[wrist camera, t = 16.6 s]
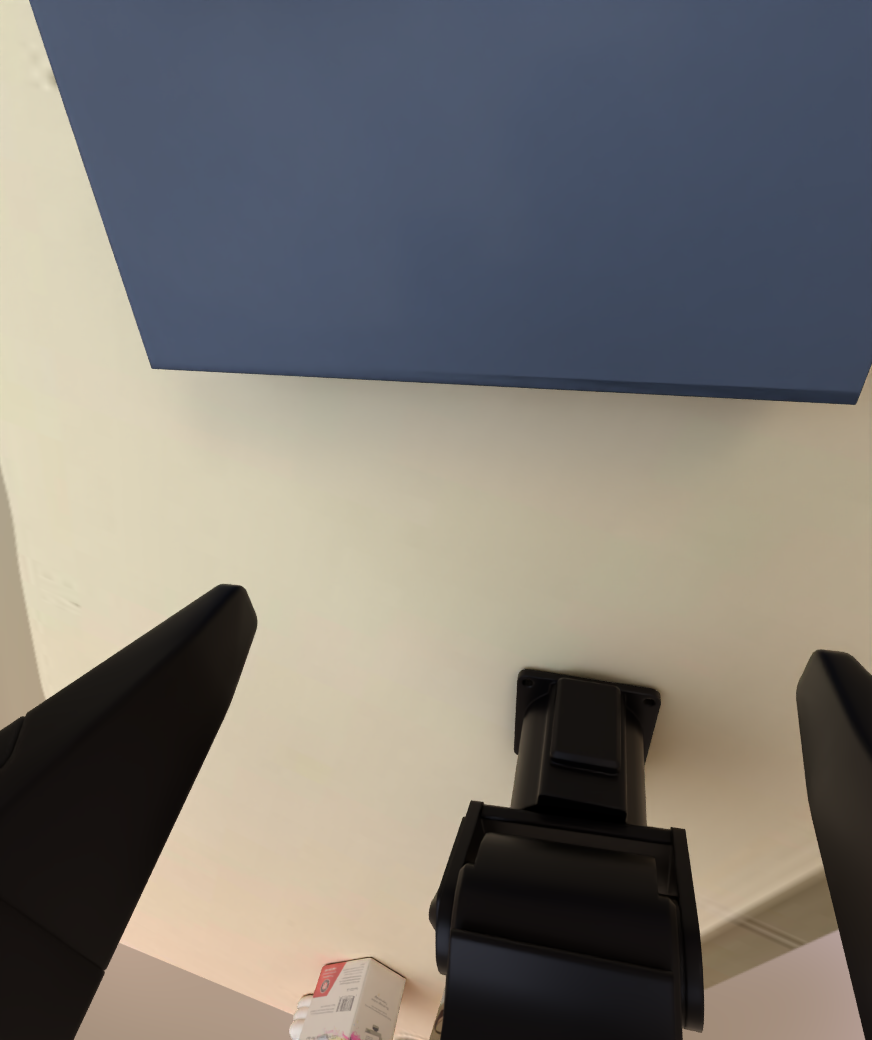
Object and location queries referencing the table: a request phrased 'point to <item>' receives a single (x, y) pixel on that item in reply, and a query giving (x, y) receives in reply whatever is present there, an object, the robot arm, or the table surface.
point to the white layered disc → (300, 1017)
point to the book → (486, 188)
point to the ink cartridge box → (354, 1002)
